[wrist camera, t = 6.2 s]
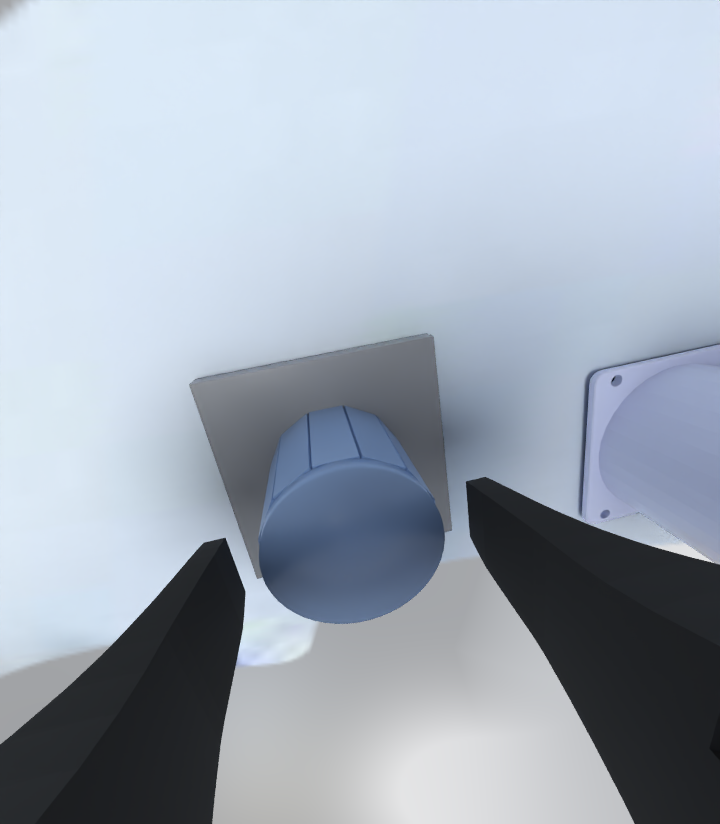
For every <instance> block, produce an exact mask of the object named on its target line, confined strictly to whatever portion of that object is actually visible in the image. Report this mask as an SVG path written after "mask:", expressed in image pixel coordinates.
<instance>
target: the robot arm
mask: <svg viewBox="0 0 720 824" xmlns="http://www.w3.org/2000/svg"><path fill="white" fill-rule="evenodd" d="M614 376H615V379H614V381H613V382H612V383H611V381H612V378H613V377H614ZM466 488H467V502H468V515H469V528H470V537H471V539H472V541H473V543H474V545H475V547H476V549H477V551H478V553H479V555H480V557H481V559H482V560H483V562H484V564H485V566H486V568H487V569H488V571H489V572H490V574H491V575H492V577H493V578H494V580H495V581H496V583H497V584H498V586H499V587H500V588H501V590H502V591H503V593H504V594H505V596H506V597H507V599H508V600H509V602H510V603H511V605H512V606H513V608H514V609H515V610H516V612H517V613H518V615H519V616H520V618H521V619H522V620H523V622H524V624H525V625H526V626H527V628H528V629H529V631H530V632H531V633H532V635H533V637H534V638H535V640H536V641H537V643H538V644H539V646H540V648H541V649H542V651H543V652H544V654H545V656H546V657H547V659H548V661H549V663H550V664H551V666H552V668H553V670H554V672H555V673H556V675H557V677H558V678H559V680H560V682H561V684H562V686H563V687H564V689H565V691H566V693H567V695H568V697H569V698H570V700H571V702H572V704H573V706H574V708H575V709H576V711H577V713H578V715H579V717H580V719H581V720H582V722H583V724H584V726H585V728H586V730H587V732H588V733H589V735H590V737H591V739H592V741H593V743H594V744H595V747H596V749H597V750H598V753H599V754H600V756H601V758H602V760H603V762H604V764H605V766H606V767H607V770H608V772H609V773H610V775H611V778H612V780H613V781H614V783H615V785H616V787H617V789H618V791H619V793H620V795H621V797H622V799H623V801H624V803H625V805H626V807H627V809H628V811H629V813H630V815H631V817H632V819H633V821H634V823H635V824H720V344H719V345H715V346H710V347H706V348H701V349H696V350H692V351H687V352H682V353H678V354H673V355H669V356H664V357H659V358H655V359H650V360H646V361H641V362H636V363H632V364H627V365H623V366H618V367H613V368H609V369H604V370H600V371H598V372H596V373H595V374H594V375H593V376H592V377H591V379H590V383H589V399H588V416H587V433H586V450H585V467H584V484H583V501H582V518H583V519H584V520H585V521H586V522H587V523H589V524H597V523H600V522H604V521H608V520H612V519H616V518H620V517H624V516H628V515H632V514H636V513H639V512H640V513H641V514H643V515H644V516H646V517H647V518H649V519H650V520H652V521H653V522H655V523H656V524H658V525H659V526H661V527H662V528H664V529H665V530H667V531H668V532H669V533H671V534H672V535H674V536H675V537H677V538H678V539H680V540H681V541H683V542H684V543H686V544H687V545H689V546H690V547H692V548H693V549H695V550H696V551H698V552H699V553H701V554H702V555H704V556H706V557H707V558H708V559H710V560H711V561H713V562H714V563H711V562H707V561H703V560H699V559H695V558H691V557H687V556H684V555H680V554H677V553H673V552H669V551H666V550H662V549H659V548H655V547H652V546H649V545H645V544H642V543H639V542H636V541H633V540H630V539H627V538H624V537H621V536H618V535H615V534H613V533H610V532H607V531H604V530H601V529H599V528H596V527H593V526H591V525H588V524H586V523H583V522H581V521H579V520H576V519H574V518H571V517H569V516H567V515H564V514H562V513H560V512H558V511H555V510H553V509H551V508H549V507H547V506H544V505H542V504H540V503H538V502H536V501H534V500H532V499H530V498H528V497H526V496H524V495H522V494H520V493H518V492H515V491H513V490H511V489H509V488H507V487H505V486H503V485H501V484H499V483H497V482H495V481H493V480H491V479H489V478H486V477H484V478H479V479H475V480H471V481H466ZM715 563H716V564H715ZM244 607H245V589H244V587H243V584H242V581H241V579H240V576H239V573H238V571H237V568H236V565H235V562H234V560H233V557H232V554H231V552H230V549H229V546H228V544H227V541H226V538H223V539H218V540H214V541H210V542H206V543H203V544H202V545H201V546H200V548H199V549H198V550H197V551H196V552H195V553H194V554H193V555H192V557H191V558H190V559H189V560H188V561H187V562H186V564H185V565H184V566H183V567H182V568H181V569H180V571H179V572H178V573H177V574H176V575H175V576H174V578H173V579H172V580H171V581H170V582H169V583H168V585H167V586H166V587H165V588H164V589H163V590H162V591H161V593H160V594H159V595H158V596H157V597H156V598H155V600H154V601H153V602H152V603H151V604H150V605H149V606H148V607H147V608H146V609H145V610H144V612H143V613H142V614H141V615H140V616H139V617H138V618H137V619H136V620H135V621H134V622H133V623H132V624H131V625H130V627H129V628H128V629H127V630H126V631H125V632H124V633H123V634H122V635H121V636H120V637H119V638H118V639H117V640H116V641H115V642H114V643H113V644H112V645H111V646H110V647H109V648H108V649H107V650H106V651H105V652H104V653H103V655H102V656H100V657H99V658H98V659H97V660H96V661H95V662H94V663H93V664H92V665H91V666H90V667H89V668H88V669H87V670H86V671H85V672H83V673H82V674H81V675H80V676H79V677H78V678H77V679H76V680H75V681H74V682H73V683H72V684H71V685H70V686H68V687H67V688H66V689H65V690H64V691H63V692H62V693H61V694H59V695H58V696H57V697H56V698H55V699H54V700H52V701H51V702H50V703H49V704H48V705H47V706H46V707H44V708H43V709H42V710H41V711H40V712H38V713H37V714H36V715H35V716H34V717H33V718H31V719H30V720H29V721H28V722H27V723H26V724H24V725H23V726H22V727H21V728H20V729H19V730H17V731H16V732H15V733H14V734H13V735H12V736H10V737H9V738H8V739H7V740H5V741H4V742H3V743H2V744H0V824H212V818H213V807H214V797H215V788H216V779H217V770H218V762H219V752H220V744H221V738H222V732H223V726H224V720H225V715H226V710H227V705H228V700H229V696H230V690H231V686H232V681H233V676H234V670H235V666H236V661H237V656H238V651H239V646H240V640H241V635H242V630H243V620H244Z"/></svg>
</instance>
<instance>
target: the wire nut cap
mask: <svg viewBox="0 0 720 824" xmlns="http://www.w3.org/2000/svg"><path fill="white" fill-rule="evenodd" d="M444 541H445V535H444V526H443V521H442V518H441V515H440V512H439V510H438V509H437V507H436V504H435V499H434V497H433V495H432V494H431V492H430V490H429V489H428V487H427V486H426V484H425V482H424V481H423V479H422V478H421V476H420V474H419V473H418V471H417V470H416V468H415V466H414V465H413V463H412V462H411V460H410V458H409V457H408V455H407V454H406V452H405V450H404V449H403V447H402V446H401V444H400V442H399V441H398V439H397V438H396V437H395V436H394V434H393V433H392V432H391V431H390V430H389V429H388V428H387V426H386V425H385V424H384V423H383V422H382V421H381V420H380V419H379V417H378V416H377V417H376V415H374V414H371V413H368V412H364V411H361V410H358V409H355V408H351V407H348V406H345V405H344V408H343V406H342V405H341V406H337V407H332V408H327V409H322V410H317V411H312V412H309V415H308V414H307V413H306V414H305V415H304V416H303V417H302V418H301V419H299V420H298V421H297V422H296V423H295V424H293V425H292V426H291V427H290V428H289V429H288V430H286V431H285V432H284V433H283V434H282V435H281V437H280V438H279V441H278V444H277V448H276V451H275V454H274V457H273V460H272V463H271V466H270V472H269V478H268V484H267V490H266V495H265V501H264V507H263V513H262V519H261V525H260V531H259V537H258V543H259V566H260V570H261V574H262V577H263V579H264V581H265V584H266V586H267V587H268V589H269V590H270V592H271V593H272V594H273V596H274V597H275V598H276V599H277V600H278V601H279V602H280V603H281V604H283V605H284V606H285V607H286V608H288V609H289V610H291V611H293V612H294V613H296V614H298V615H301V616H303V617H305V618H308V619H311V620H314V621H319V622H324V623H335V624H345V623H346V624H348V623H356V622H362V621H367V620H371V619H374V618H377V617H380V616H383V615H385V614H388V613H390V612H392V611H393V610H395V609H397V608H399V607H401V606H402V605H404V604H405V603H407V602H408V601H410V600H411V599H412V598H413V597H414V596H416V595H417V594H418V593H419V592H420V591H421V590H422V589H423V588H424V587H425V586H426V584H427V583H428V582H429V580H430V579H431V577H432V576H433V574H434V573H435V571H436V569H437V567H438V565H439V563H440V560H441V557H442V553H443V549H444Z"/></svg>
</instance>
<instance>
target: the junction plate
mask: <svg viewBox="0 0 720 824" xmlns="http://www.w3.org/2000/svg"><path fill="white" fill-rule="evenodd" d="M190 388H191V391H192V394H193V397H194V400H195V403H196V405H197V408H198V411H199V414H200V417H201V420H202V423H203V425H204V428H205V431H206V434H207V437H208V440H209V443H210V445H211V448H212V451H213V454H214V457H215V460H216V462H217V465H218V468H219V471H220V474H221V477H222V480H223V482H224V485H225V488H226V491H227V494H228V497H229V500H230V502H231V505H232V508H233V511H234V514H235V517H236V520H237V522H238V525H239V528H240V531H241V534H242V537H243V539H244V542H245V545H246V548H247V551H248V554H249V557H250V559H251V562H252V565H253V568H254V571H255V574H256V577H257V579H258V578H262V574H261V570H260V566H259V543H258V537H259V531H260V525H261V519H262V513H263V507H264V501H265V495H266V490H267V484H268V478H269V472H270V466H271V463H272V460H273V457H274V454H275V451H276V448H277V444H278V441H279V438H280V437H281V435H282V434H283V433H284V432H285V431H286V430H288V429H289V428H290V427H291V426H292V425H293V424H295V423H296V422H297V421H298V420H299V419H301V418H302V417H303V416H304V415H305V414H306V413H307V414H308V415H309V412H312V411H317V410H322V409H327V408H332V407H337V406H341V405H342V406H343V408H344V405H345V406H348V407H351V408H355V409H358V410H361V411H364V412H368V413H371V414H374V415H376V417H377V416H378V417H379V419H380V420H381V421H382V422H383V423H384V424H385V425H386V426H387V428H388V429H389V430H390V431H391V432H392V433H393V434H394V436H395V437H396V438H397V439H398V441H399V442H400V444H401V446H402V447H403V449H404V450H405V452H406V454H407V455H408V457H409V458H410V460H411V462H412V463H413V465H414V466H415V468H416V470H417V471H418V473H419V474H420V476H421V478H422V479H423V481H424V482H425V484H426V486H427V487H428V489H429V490H430V492H431V494H432V495H433V497H434V499H435V504H436V507H437V509H438V510H439V512H440V515H441V518H442V521H443V526H444V532H447V531H451V530H452V525H451V514H450V504H449V493H448V483H447V473H446V462H445V452H444V441H443V431H442V420H441V410H440V400H439V389H438V379H437V368H436V358H435V347H434V337H433V336H432V335H429V334H422V335H416V336H411V337H406V338H401V339H396V340H391V341H386V342H381V343H376V344H371V345H366V346H361V347H356V348H351V349H346V350H341V351H336V352H331V353H326V354H321V355H316V356H311V357H306V358H301V359H296V360H291V361H285V362H280V363H275V364H270V365H265V366H260V367H255V368H250V369H245V370H240V371H235V372H230V373H225V374H220V375H215V376H210V377H205V378H200V379H195V380H194V381H193V382H192V383H191V384H190Z"/></svg>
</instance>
